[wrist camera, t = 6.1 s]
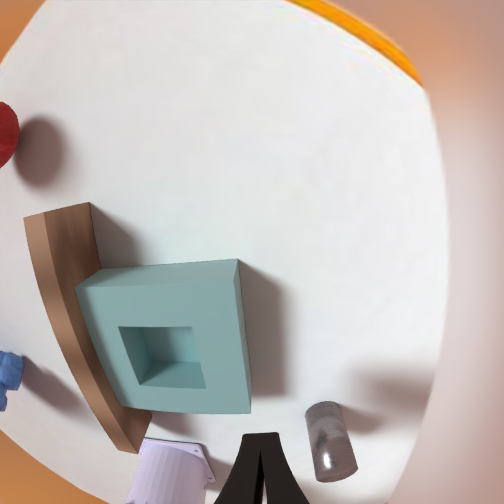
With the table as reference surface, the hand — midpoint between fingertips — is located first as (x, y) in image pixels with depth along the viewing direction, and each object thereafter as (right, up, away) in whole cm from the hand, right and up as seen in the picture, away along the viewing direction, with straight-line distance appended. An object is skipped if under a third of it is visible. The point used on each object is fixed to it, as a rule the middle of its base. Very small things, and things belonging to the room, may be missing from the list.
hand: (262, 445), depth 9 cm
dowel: (+6, -7, +12) cm, 15 cm away
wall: (-12, +2, +10) cm, 16 cm away
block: (-6, +2, +10) cm, 12 cm away
